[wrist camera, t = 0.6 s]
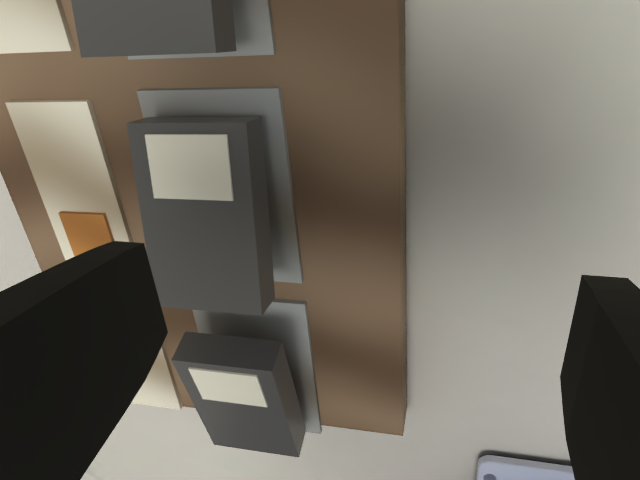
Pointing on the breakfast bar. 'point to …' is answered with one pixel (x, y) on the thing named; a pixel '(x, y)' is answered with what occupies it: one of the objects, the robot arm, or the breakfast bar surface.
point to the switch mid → (205, 211)
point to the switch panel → (281, 174)
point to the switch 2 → (242, 391)
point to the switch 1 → (153, 27)
